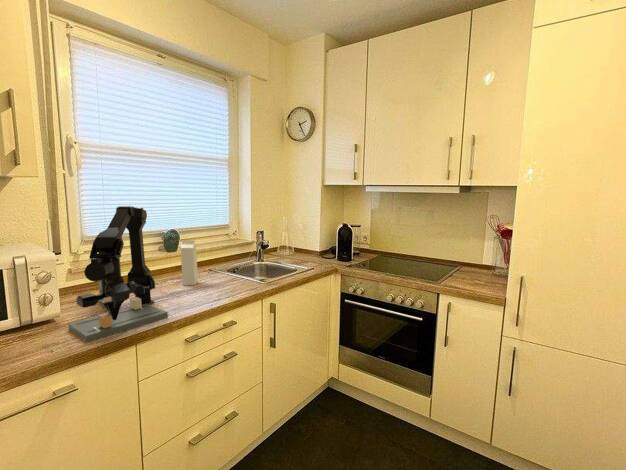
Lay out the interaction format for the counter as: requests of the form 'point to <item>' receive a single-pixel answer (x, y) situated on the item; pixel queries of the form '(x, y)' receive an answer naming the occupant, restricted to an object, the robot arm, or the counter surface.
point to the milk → (189, 263)
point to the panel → (117, 322)
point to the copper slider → (105, 320)
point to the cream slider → (135, 303)
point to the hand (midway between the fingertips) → (114, 319)
